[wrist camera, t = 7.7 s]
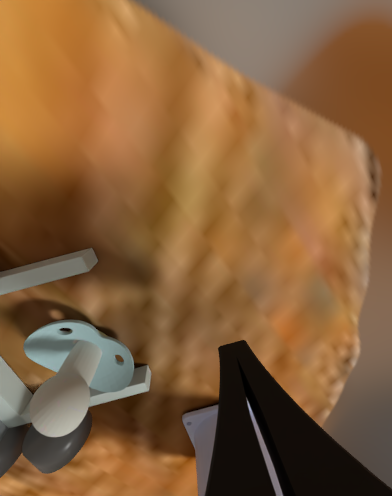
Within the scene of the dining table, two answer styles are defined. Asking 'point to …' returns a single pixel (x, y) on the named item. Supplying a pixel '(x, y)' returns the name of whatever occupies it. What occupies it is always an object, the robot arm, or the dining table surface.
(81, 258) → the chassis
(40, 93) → the dining table surface
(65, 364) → the pacifier
